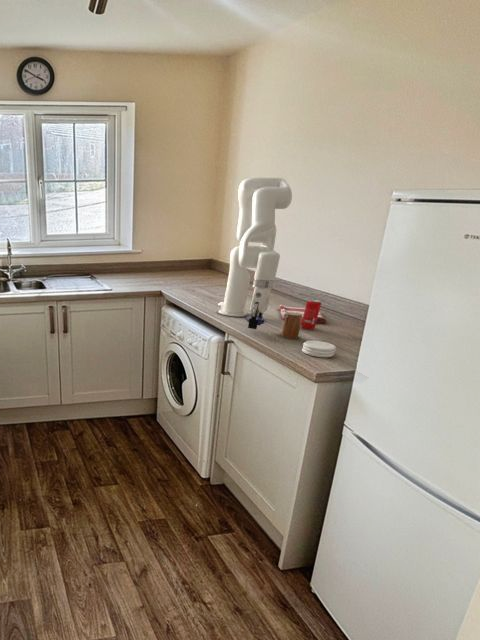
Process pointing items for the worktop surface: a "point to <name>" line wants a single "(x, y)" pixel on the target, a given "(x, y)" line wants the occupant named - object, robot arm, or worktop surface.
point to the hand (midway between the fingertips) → (254, 326)
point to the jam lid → (260, 319)
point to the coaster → (318, 349)
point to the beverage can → (311, 314)
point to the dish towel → (287, 309)
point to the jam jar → (292, 325)
